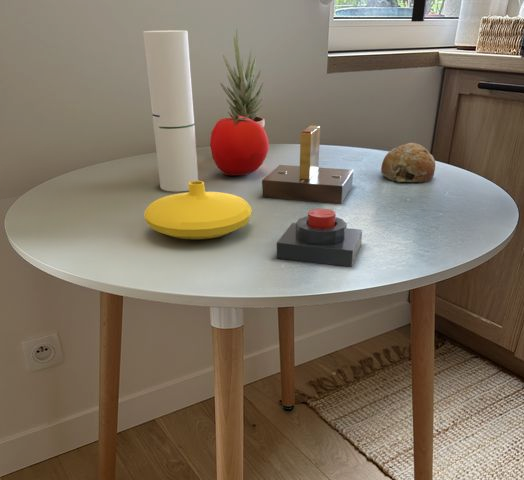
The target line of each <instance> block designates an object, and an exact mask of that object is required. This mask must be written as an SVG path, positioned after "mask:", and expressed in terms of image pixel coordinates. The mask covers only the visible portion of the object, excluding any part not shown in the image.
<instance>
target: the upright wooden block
mask: <svg viewBox="0 0 524 480" xmlns="http://www.w3.org/2000/svg"><path fill="white" fill-rule="evenodd" d="M320 138H321V125H309V126H308V127H306V128H305V129H303V130H302V131H301V132H300V138H299V139H300V142H299V166H300V174H299V179H305V180H310V179H311V177H312V176H313V175H314V174H315V173H316V172H317V171H318V167H319V162H320V143H321V142H320V141H321V139H320Z"/></svg>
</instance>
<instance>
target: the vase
mask: <svg viewBox="0 0 524 480" xmlns="http://www.w3.org/2000/svg"><path fill="white" fill-rule="evenodd" d="M252 211H253V209H252V207H251V205H250V204H249V203H248V201H246V200H245V199H244V198H242V197H240V196H238V195H235V194H231V193H227V192H219V191H206V188H205V181H202V180H198V181H192V182H189V190H188V191H186V192H180V193H175V194H168V195H166V196H163V197H160V198H158V199H155V200H154V201H152V202H150V204H149V205H148V206H147V208H146V209H145V211H144V214H143V217H144V219H145V222H146V223H147V225H148V226H149V228H151V230H154V231H156V232H158V233H161V234H163V235H166V236H170V237H173V238H176V239H182V240H195V241H196V240H208V239H215V238H220V237H223V236H226V235H228V234H231V233H232V232H234V231H237V230H239V229H241V228H243V227H244V226H245V225H247V224H248V223H249V221H250V219H251V214H252Z"/></svg>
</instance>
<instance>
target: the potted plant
mask: <svg viewBox="0 0 524 480" xmlns="http://www.w3.org/2000/svg"><path fill="white" fill-rule="evenodd" d="M238 33H239V32H238V28H237V27H236V28H235V35H234V36H233V46H234V55H235V62H236V68H235V67H233V69H232V67H231V65H230V63H229V62H228V60H227V58H226V56H225V55H224V54H222V57H223V60H224V63H225V66H226V68H227V70H228V73H229V74H228V73H226V76H227V79H228V81H229V84H230V86H231V88H232V90H233V91H232V90H231V88H229V87H228V86H227V87H226V86H224V84H223V83H222V82H221V81H220V87H221V88H222V90H223V91H224V93H225V94H226V95H227V97H228V98H229V100H228V99H227V98H226V99H225V101H226V102H227V103H228V105H229V106H228V107H229V110H230V114H231V115H232V116H234V117H235V115H238V116H242V117H248V118H249V119H251V120H253V121H255V122H258V123H259V124H260V125H261V126H262V127H263V128H264V127H265V126H266V125H265V124H266V123H265V118H264V117H262V116H258V114H257V112H259V110H260V109H261V107H262V106H263V104H261V102H262V101H263V99H262V98H261V99H260V100H259V98H260V96H261V94H262V92H263V90H262V89H263V86H264V82H262V83H261V85H260V87H259V89H258V91H257V92H256V93H255V94H254V92H255V89H256V87H257V85H258V82H259V79H260V76H261V72H262V67H260V68H259V71H258V73H257V75H256V77H255V69H256V65H257V64H256V61H257V60H256V59H257V57H256V56H254V58H252V56H253V51H252V49H250V52H249V56H248V60H247V65H246V69H244V61H243V59H242V58H241V51H240V42H239V34H238ZM252 59H253V62H252ZM236 69H237V71H236ZM253 95H254V96H253ZM232 103H233V104H232ZM260 104H261V105H260ZM259 105H260V106H259ZM258 106H259V107H258ZM229 118H232V117H231V116H230V117H229Z"/></svg>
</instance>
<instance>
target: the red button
mask: <svg viewBox="0 0 524 480" xmlns="http://www.w3.org/2000/svg"><path fill="white" fill-rule="evenodd" d="M336 215H337V214H336V211H334V210H332V209H328V208H313V209H311V210H308V212H307V216H308V226H310V227H313V228H321V229H325V228H332V227H335V217H337V216H336Z"/></svg>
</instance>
